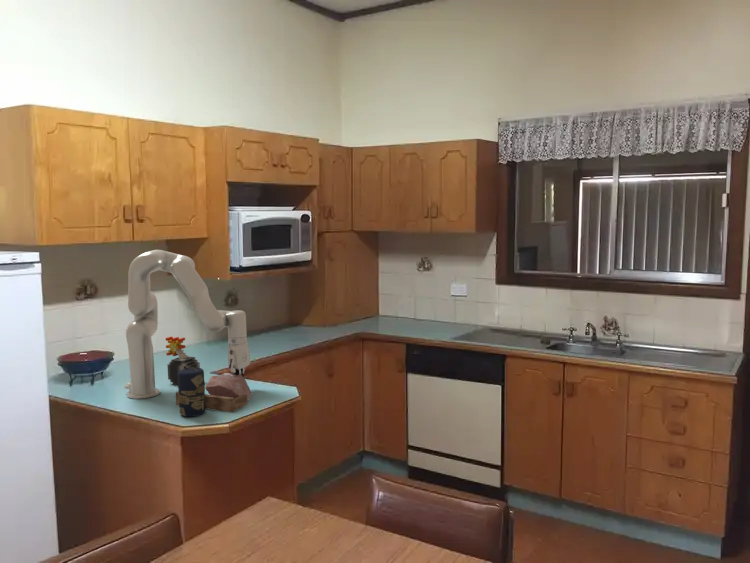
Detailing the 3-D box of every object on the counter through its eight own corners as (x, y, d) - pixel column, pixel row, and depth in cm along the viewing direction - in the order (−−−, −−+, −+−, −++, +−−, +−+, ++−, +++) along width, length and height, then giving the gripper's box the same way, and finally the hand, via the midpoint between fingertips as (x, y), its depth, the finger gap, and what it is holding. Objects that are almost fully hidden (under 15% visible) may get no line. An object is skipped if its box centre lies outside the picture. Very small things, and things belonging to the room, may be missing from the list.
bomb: (189, 386, 282) (186, 341, 280) (164, 383, 288) (162, 338, 285) (200, 382, 290) (198, 337, 287) (176, 379, 295) (174, 335, 292)
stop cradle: (176, 405, 257) (175, 392, 256) (192, 397, 266) (191, 385, 266) (232, 412, 247) (231, 399, 247) (247, 404, 257) (246, 392, 256)
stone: (221, 371, 275) (199, 380, 265) (258, 376, 264) (236, 385, 254) (223, 390, 277) (201, 400, 266) (260, 395, 266) (239, 406, 255)
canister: (188, 420, 239) (186, 371, 237) (174, 414, 246) (172, 367, 243) (211, 413, 246) (208, 366, 244) (196, 408, 253) (194, 362, 250)
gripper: (235, 344, 264) (237, 389, 266) (255, 337, 278) (257, 379, 280) (219, 343, 267) (221, 387, 269) (239, 336, 280) (241, 378, 283)
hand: (239, 383), depth 274 cm, fingers closed
